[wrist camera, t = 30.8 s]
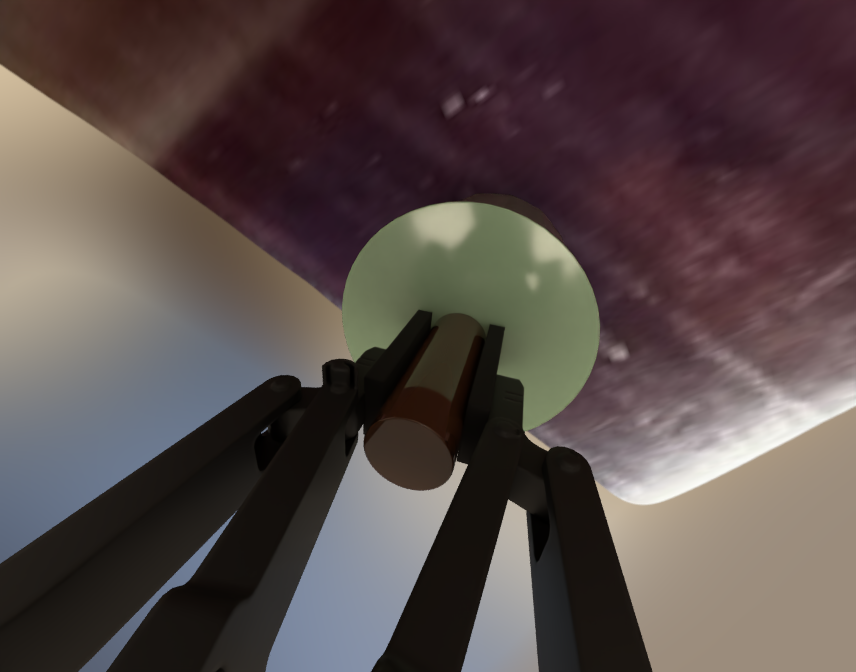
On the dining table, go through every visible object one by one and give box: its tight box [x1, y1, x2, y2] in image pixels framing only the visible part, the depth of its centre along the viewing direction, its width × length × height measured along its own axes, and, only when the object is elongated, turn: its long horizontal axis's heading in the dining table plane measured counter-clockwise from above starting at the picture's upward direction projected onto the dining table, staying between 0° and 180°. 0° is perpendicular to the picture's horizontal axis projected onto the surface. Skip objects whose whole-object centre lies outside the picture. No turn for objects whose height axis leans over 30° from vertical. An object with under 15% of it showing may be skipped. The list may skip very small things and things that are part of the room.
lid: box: [342, 201, 600, 491], centre depth 15 cm, size 14×14×10 cm
